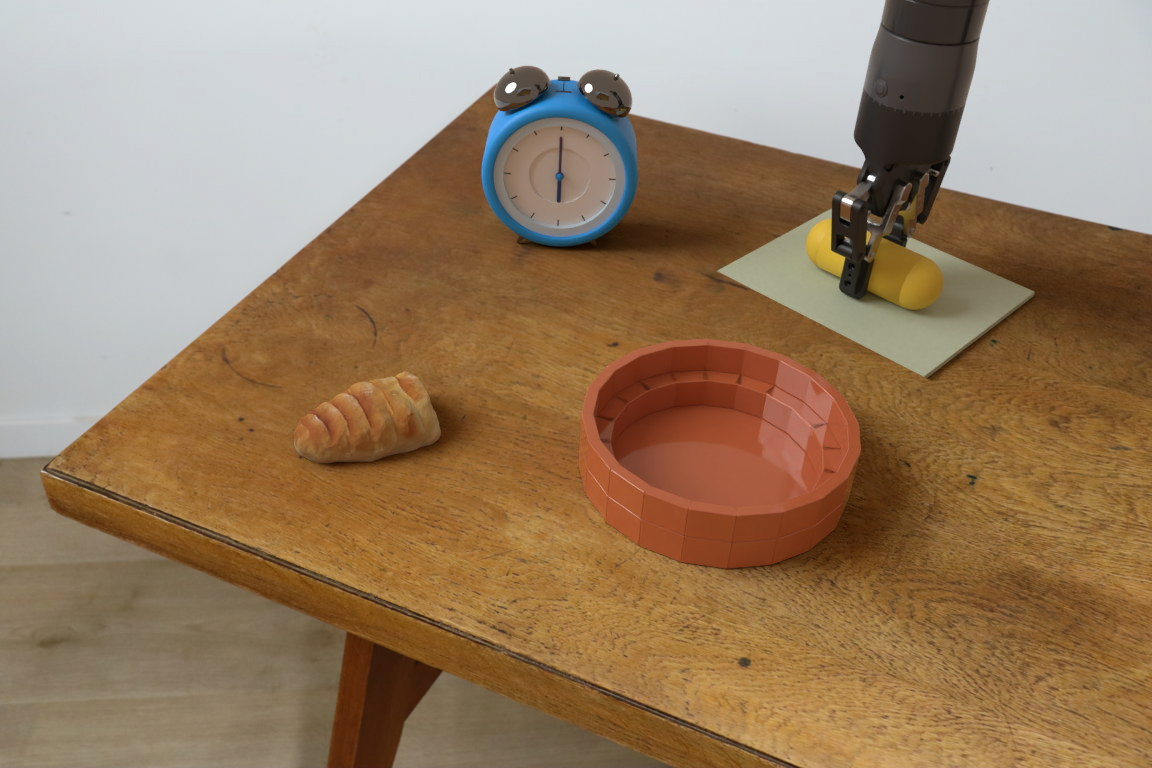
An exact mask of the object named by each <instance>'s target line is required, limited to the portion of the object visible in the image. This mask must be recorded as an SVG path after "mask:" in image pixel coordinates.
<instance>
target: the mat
mask: <svg viewBox="0 0 1152 768" xmlns="http://www.w3.org/2000/svg"><path fill="white" fill-rule="evenodd" d="M825 219H832V207H831V208H829V209H828V210H825V211H824V212H822V213H820V214H818V215H817V216H815V217H813V218H811V219H810V220H808V221H805V222H804V223H802V224H800V225H798V226H797V227H795V228H793V229H791V230H789V231H787V232H786V233H784V234H781V235H779V236H778V237H776V238H774V239H773V240H770V241H769V242H767V243H766V244H763V245H761V246H760V247H758V248H756V249H754V250H753V251H751V252H748V253H747V254H745V255H743V256H742V257H740V258H738V259H736V260H734V261H733V262H730V263H729V264H727V265H725V266H723V267H721V268H720V269H718V270H717V272H718V273H720V274H722V275H724V276H726V277H727V278H729V279H732V280H733V281H735V282H737V283H739V284H741V285H743V286H745V287H747V288H750V289H751V290H753V291H755V292H757V293H759V294H761V295H763V296H765V297H766V298H769V299H771V300H773V301H774V302H776V303H778V304H781V305H782V306H783V307H786V308H788V309H790V310H792V311H794V312H796V313H798V314H800V315H802V316H804V317H806V318H808V319H810V320H812V321H814V322H816V323H818V324H820V325H822V326H824V327H825V328H828V329H829V330H831V331H833V332H835V333H837V334H838V335H841V336H843V337H845V338H847V339H849V340H850V341H853V342H855V343H856V344H859V345H861V346H863V347H865V348H866V349H868V350H871V351H873V352H874V353H876V354H878V355H880V356H882V357H884V358H886V359H888V360H890V361H892V362H893V363H896V364H898V365H900V366H902V367H903V368H906V369H908V370H910V371H912V372H914V373H916V374H918V376H919V375H920V376H922V377H924V378H925V379H928V378H930V376H932V375H933V374H934V373H936V372H937V371H939V370H940V369H941V368H942V367H943V366H945V365H946V364H947V363H948V362H950V361H952V360H953V359H954V358H955V357H957V356H958V355H959V354H960V353H962V352H963V351H964V350H966V349H967V348H969V347H970V346H972V344H974V343H975V342H976V341H978V339H980V338H981V337H983V336H984V335H985V334H987V333H989V332H990V331H991V330H992V329H993V328H994V327H996V326H997V325H999V323H1001V322H1002V321H1003V320H1005V319H1007V317H1009V316H1010V315H1012V314H1013V313H1014V312H1015V311H1017V310H1018V309H1019V308H1021V307H1022V306H1023V305H1025V303H1027V302H1029V300H1031V299H1032V298H1033V297H1034V295H1035V293H1036V292H1035V290H1032V289H1029V288H1027V287H1025V286H1023V285H1021V284H1018V283H1016V282H1013V281H1011V280H1009V279H1006V278H1004V277H1002V276H1000V275H998V274H996V273H993V272H991V271H988V270H986V269H985V268H983V267H982V268H981V267H979V266H977V265H975V264H972V263H970V262H967V261H966V260H963V259H961V258H958V257H956V256H954V255H951V254H950V253H947V252H946V251H945V252H944V251H942V250H940V249H938V248H937V247H933V246H931V245H929V244H926V243H924V242H922V241H920V240H917V239H915V238H913V237H910V238H907V239H908V240H907V244H906V248H907V249H909V250H912V251H914V252H916V253H918V254H921V255H923V256H925V257H927V258H929V259H931V260H933V261H934V262H935V263H936V264H937V265H938V267H939V268H940V270H941V272H942V275H943V280H944V282H943V289H942V292H941V294H940V296H939V297H938V299H937V300H936V301H935V302H934V303H933V304H931V305H930V306H928V307H926V308H923V309H919V310H911V309H906V308H903V307H901V306H899V305H897V304H894V303H892V302H890V301H888V300H886V299H884V298H882V297H880V296H878V295H876V294H873V293H871V292H869V291H867V293H866V295H865V296H863V297H862V298H860V299H855V298H853V297H851V296H848V295H846V294H844V293H842V292H841V291H840V289H839V284H840V279H841V278H840V277H838V276H836V275H834V274H831V273H829V272H827V271H825V270H823V269H821V268H819V267H817V266H816V265H815V264H814V263H813V262H812V261H811V260H810V258H809V257H808V255H807V252H806V239H807V236H808V234H809V232H810V230H811V229H812V228H813V227H814V226H815V225H816V224H817V223H819V222H820V221H823V220H825Z"/></svg>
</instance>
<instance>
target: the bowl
mask: <svg viewBox="0 0 1152 768" xmlns="http://www.w3.org/2000/svg"><path fill="white" fill-rule="evenodd" d="M581 409H582V410H581V414H580V428H579V429H580V430H579V446H578V463H577V465H578V470H579V474H580V478H581V482H582V488H583V491H584V494H585V495H586V497H587V499H588V500H589V501H590V502H591V504H592V505H593V507H594V508H595V509H596V511H597V512H598V513H599V515H600V516H601V517H602V518H603V520H604V521H605V522H606V523H607V525H609V526H611V527H612V528H613V529H615V530H616V531H618V532H619V533H621V534H622V535H624V537H626V538H628V539H629V540H630V541H631V542H633V543H634V544H636V545H637V546H639V547H641V548H644V549H646V550H649V551H652V552H654V553H656V554H659V555H662V556H664V557H666V558H669V559H671V560H675V561H677V562H680V563H684V564H685V563H686V564H691V565H698V566H704V567H711V568H717V569H718V568H719V569H726V570H727V569H738V568H740V569H741V568H750V567H760V566H771V565H775V564H778V563H780V562H783V561H785V560H788V559H791V558H793V557H796V556H799V555H802V554H805V553H807V552H809V551H811V550H812V549H813V548H815V546H817V545H818V544H819V543H820V542H821V541H823V540H824V539H825V538H827V536H829V535H830V534H832V532H833V531H834V530H836V528H837V527H838V524H839V522H840V520H841V518H842V515H843V514H844V511H845V509H846V507H847V505H848V502H849V500H850V499H849V498H850V495H851V491H852V487H853V483H854V479H855V476H856V471H857V469H858V465H859V461H860V457H861V452H862V445H861V432H860V423H859V421H858V419H857V417H856V416H855V413H854V412H853V410H852V409H851V407H850V404H849V403H848V402H847V400H846V398H845V396H844V395H843V394H842V393H841V392H840V391H838V390H837V389H836V388H835V387H834V386H833V385H832V384H831V383H829V382H828V381H827V379H826V378H824V377H823V376H822V375H821V374H820V373H818V372H816V371H814V370H813V369H811V368H809V367H808V366H805V365H803V364H802V363H800V362H798V361H796V360H794V359H793V358H791V357H788V356H787V355H785V354H783V353H779V352H775V351H773V350H769V349H767V348H763V347H759V346H757V345H754V344H750V343H746V342H738V341H731V340H723V339H714V338H696V339H693V338H692V339H678V340H668V341H663V342H660V343H656V344H652V345H649V346H644V347H642V348H637V349H633V350H632V351H630V352H628V353H626V354H625V355H622V356H621V357H619V358H618V359H616V360H614V361H612V362H611V363H609V364H607V365H606V366H605V367H604V368H603V369H602V371H601V372H600V373H599V374H598V375H597V377H595V379H594V380H593V381H592V383H590V385H589V386H588V387H587V389H586V393H585V397H584V401H583V405H582V408H581Z"/></svg>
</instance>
